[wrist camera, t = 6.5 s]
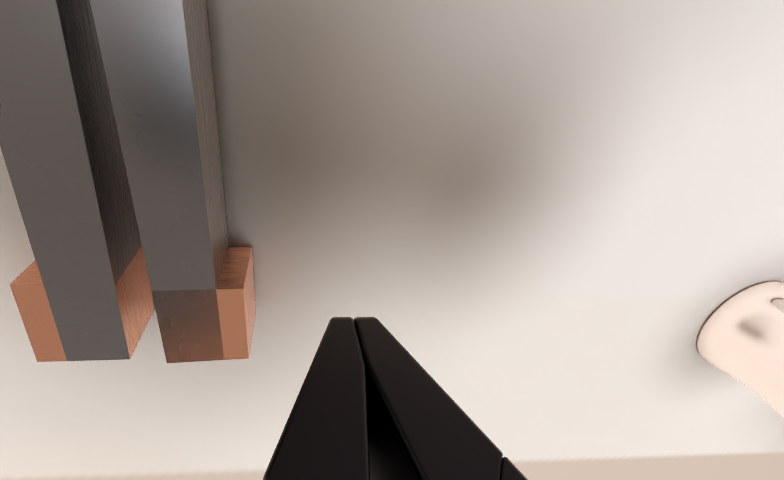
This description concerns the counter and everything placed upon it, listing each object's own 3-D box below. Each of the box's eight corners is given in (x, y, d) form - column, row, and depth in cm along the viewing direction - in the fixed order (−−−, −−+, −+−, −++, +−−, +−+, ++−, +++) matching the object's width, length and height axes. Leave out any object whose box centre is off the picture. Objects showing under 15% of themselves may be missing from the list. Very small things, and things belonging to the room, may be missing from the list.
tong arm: (26, -598, 6) (-115, -910, 4) (205, -525, 7) (161, -765, 5) (183, 313, 16) (163, 363, 13) (255, 310, 16) (248, 358, 14)
